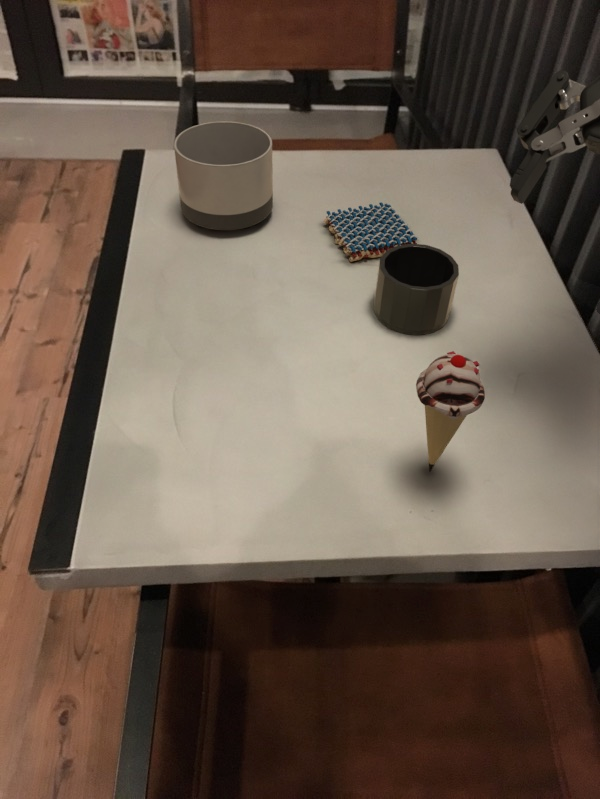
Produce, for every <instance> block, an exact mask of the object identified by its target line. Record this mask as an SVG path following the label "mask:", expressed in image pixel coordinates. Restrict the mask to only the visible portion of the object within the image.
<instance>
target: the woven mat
mask: <svg viewBox="0 0 600 799" xmlns="http://www.w3.org/2000/svg"><path fill="white" fill-rule="evenodd" d="M378 204H379V205H376V204H375V205H374V206H373V204H372V203H369V204H368V206H369V207H367V206H364V207H363V206H362V205H358V209H357V208H353V209H352V207H347V211H346V209H344V210H341V209H340V208H339V209H337V212H335V211H332V212H331V211H330V210H326V214H327V216H326V217H325V219H324V220H323V222H324V224H326V225H329V226H328V231H329V232H331V233H332V234H334V244H335V245H337V244H338V245H339V246H340V247H343V249H342V250H343V253H345V255H346V256H348V257H349V259H348V260H349V263H352V262H355V261H361V260H362V259H363V258H370V259H376V258H381V257H382V255H383V254H384V253H385V252H386V251H387V250H389V249H391V248H393V247H395V246H399V245H406V244H418V243H419V241H420V240H419V235H416V234H415V233H414V231H413V230H411V226H408V224H407V223H406V222H405V221H404V219H403V218H401V215H399V213H398V212H396V210H395V209H394V207H393V206H392V205H391V204H388V203H383V202H379V203H378Z"/></svg>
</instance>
